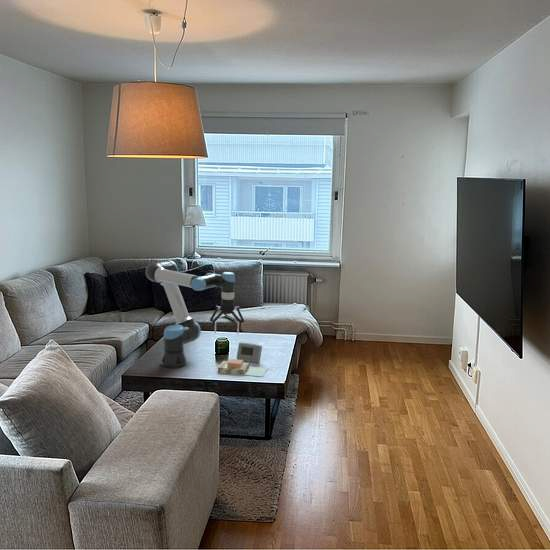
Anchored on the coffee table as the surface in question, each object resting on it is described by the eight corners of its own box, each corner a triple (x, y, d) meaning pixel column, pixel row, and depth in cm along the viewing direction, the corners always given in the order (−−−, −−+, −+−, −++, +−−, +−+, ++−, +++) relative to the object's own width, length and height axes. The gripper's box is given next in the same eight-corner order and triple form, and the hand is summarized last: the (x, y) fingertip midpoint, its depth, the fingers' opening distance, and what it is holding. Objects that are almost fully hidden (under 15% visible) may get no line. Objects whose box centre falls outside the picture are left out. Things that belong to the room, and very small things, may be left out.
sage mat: (244, 375, 317) (244, 374, 317) (249, 367, 331) (249, 366, 331) (262, 377, 315) (262, 376, 315) (267, 368, 329) (267, 368, 329)
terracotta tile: (227, 366, 322) (227, 362, 321) (230, 362, 329) (230, 358, 328) (240, 367, 321) (240, 363, 320) (243, 364, 327) (243, 360, 327)
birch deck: (217, 372, 321) (218, 367, 320) (223, 365, 333) (223, 360, 332) (244, 374, 318) (244, 369, 318) (249, 367, 330) (249, 363, 329)
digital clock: (234, 359, 344) (235, 343, 342) (243, 356, 351) (243, 340, 349) (255, 365, 335) (256, 348, 333) (264, 361, 342) (264, 345, 340)
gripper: (206, 299, 317) (205, 334, 321) (249, 300, 319) (247, 335, 323) (206, 296, 325) (206, 330, 329) (248, 297, 327) (247, 331, 331)
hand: (226, 332), depth 326 cm, fingers open, 13 cm apart
